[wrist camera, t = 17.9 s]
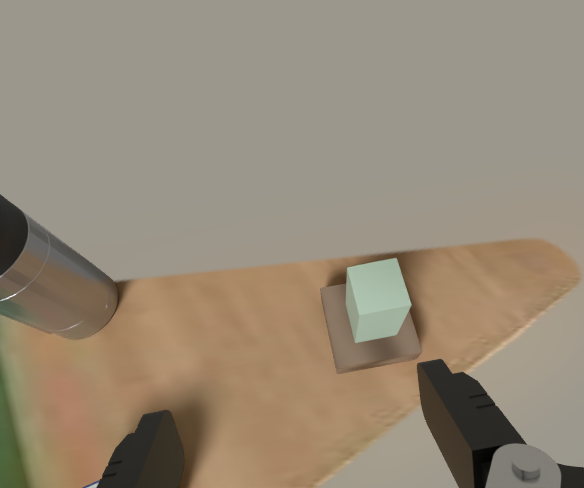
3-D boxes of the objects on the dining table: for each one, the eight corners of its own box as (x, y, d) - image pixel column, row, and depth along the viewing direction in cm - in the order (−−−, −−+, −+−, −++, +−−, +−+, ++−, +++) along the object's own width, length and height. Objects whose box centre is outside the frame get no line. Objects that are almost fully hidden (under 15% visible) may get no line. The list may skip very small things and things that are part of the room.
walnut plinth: (337, 374, 45) (337, 367, 42) (321, 299, 50) (320, 288, 46) (415, 359, 45) (422, 351, 42) (393, 286, 49) (397, 273, 46)
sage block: (355, 343, 43) (359, 315, 34) (345, 303, 45) (347, 267, 36) (396, 335, 43) (411, 304, 34) (385, 295, 45) (396, 257, 36)
